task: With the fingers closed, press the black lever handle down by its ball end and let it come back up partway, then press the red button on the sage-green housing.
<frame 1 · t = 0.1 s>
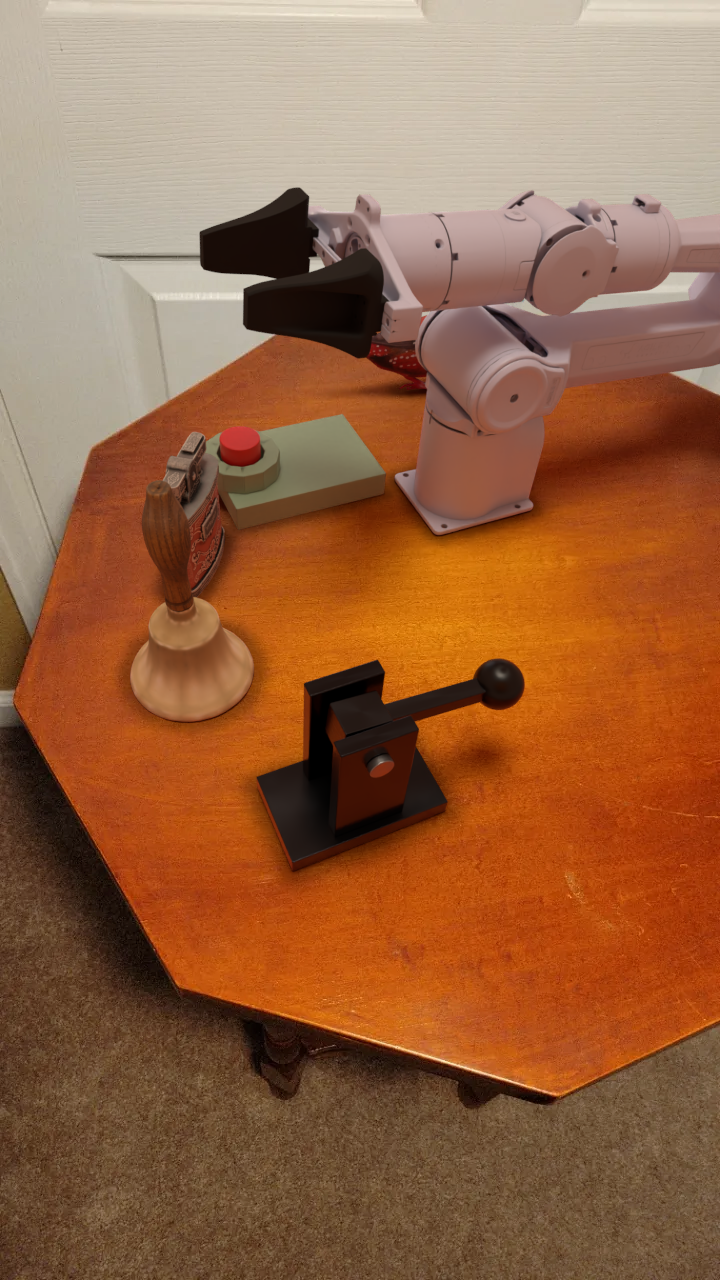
hand: (222, 278, 46), 22 cm above the table, tool horizontal, fingers open, 7 cm apart
decorative bird figurine: (402, 392, 79), on the table
hand bell: (193, 674, 55), on the table
button: (240, 446, 64), point 4 cm above the table, slide at 0.1 cm
lighter: (196, 565, 62), on the table
black lever handle: (431, 703, 45), point 8 cm above the table, hinge at -5.0°
lever base: (350, 799, 49), on the table
button box: (293, 479, 69), on the table
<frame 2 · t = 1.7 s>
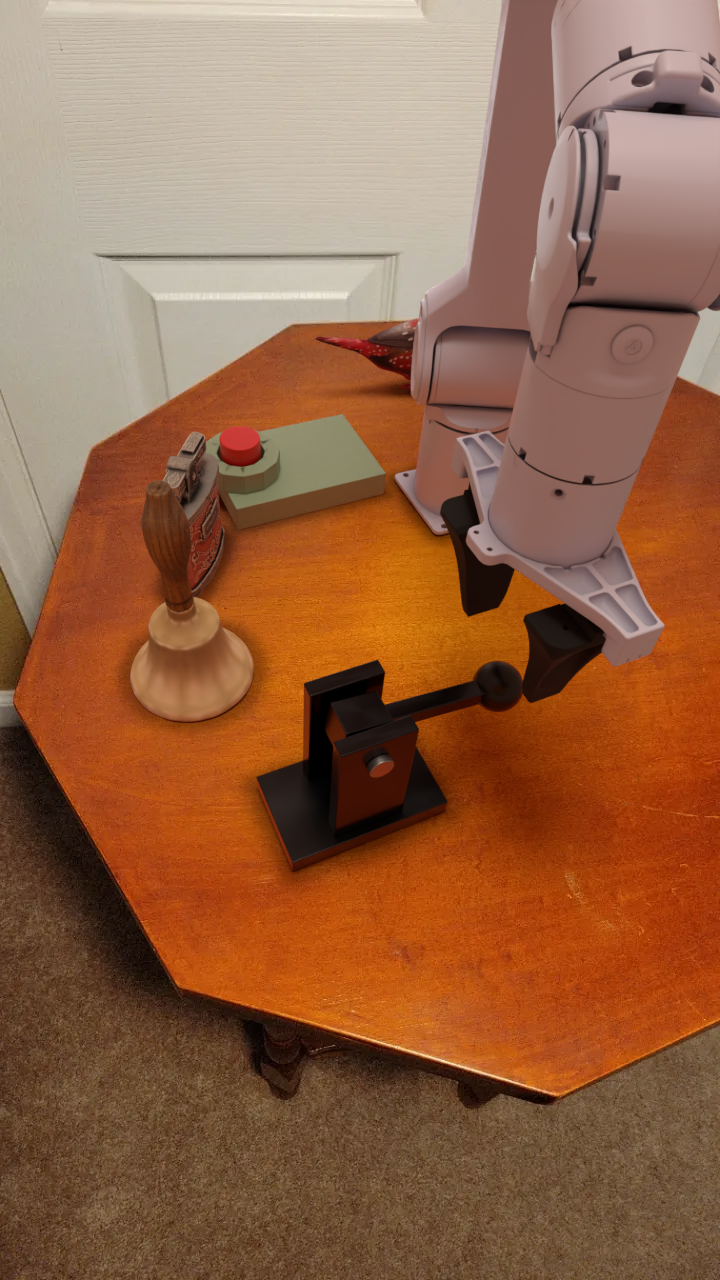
hand: (509, 648, 44), 10 cm above the table, tool pointing down, fingers open, 6 cm apart
black lever handle: (431, 704, 45), point 7 cm above the table, hinge at -6.3°
everything else where it was.
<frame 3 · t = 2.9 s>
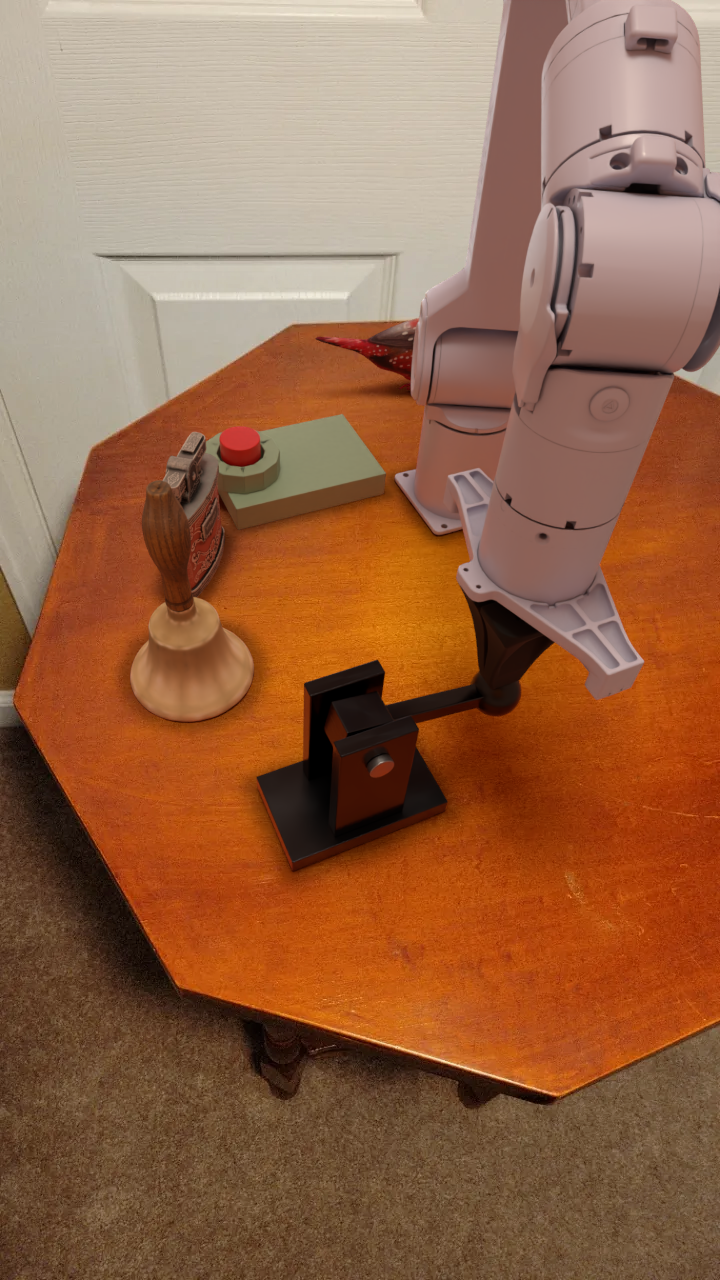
hand: (500, 675, 46), 8 cm above the table, tool pointing down, fingers closed, pressing on black lever handle
black lever handle: (430, 707, 45), point 7 cm above the table, hinge at -9.0°, touching gripper
everything else where it was.
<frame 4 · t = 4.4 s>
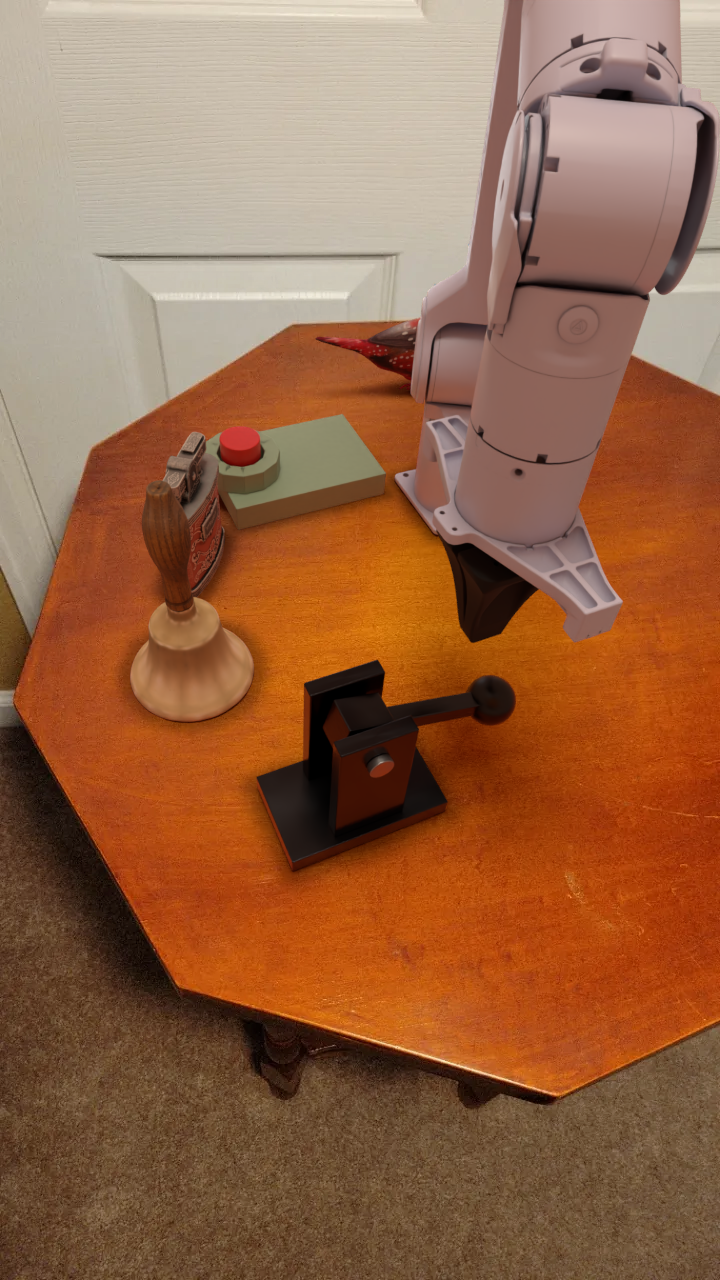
hand: (480, 629, 45), 10 cm above the table, tool pointing down, fingers closed
black lever handle: (428, 711, 45), point 7 cm above the table, hinge at -14.4°
everything else where it was.
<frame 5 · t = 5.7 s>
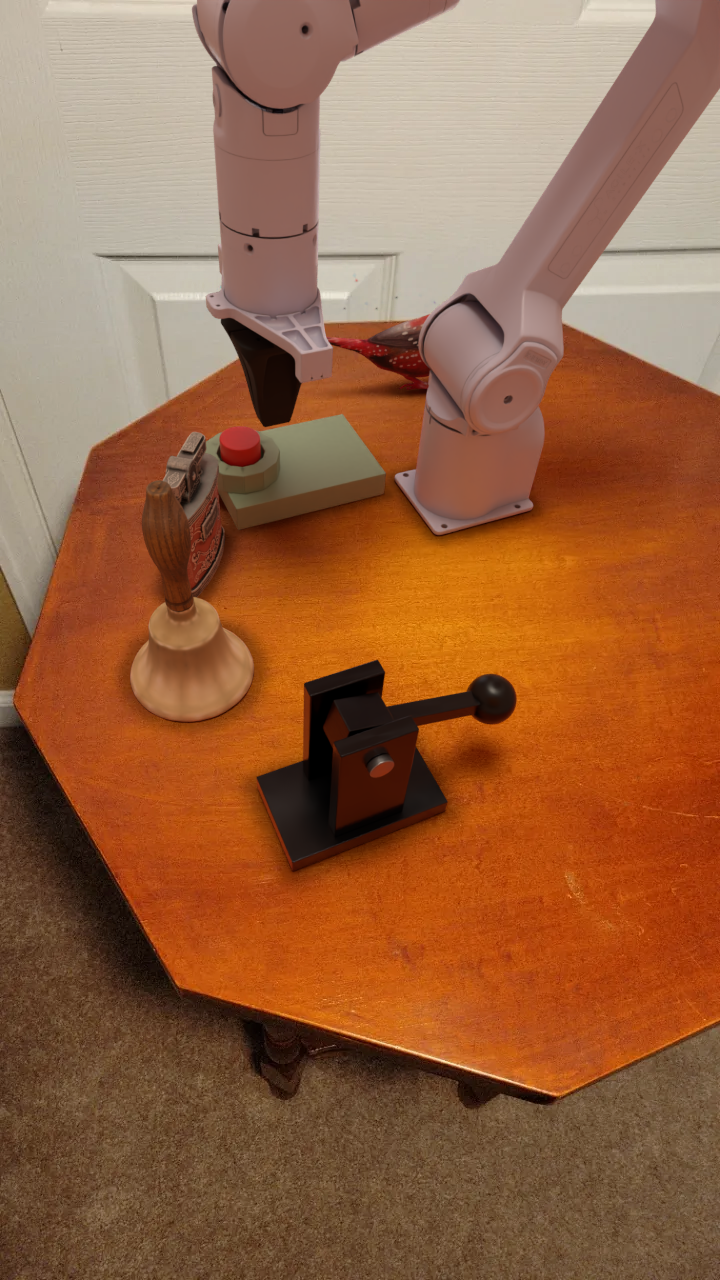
hand: (273, 419, 57), 10 cm above the table, tool pointing down, fingers closed
black lever handle: (428, 711, 45), point 7 cm above the table, hinge at -13.6°
everything else where it was.
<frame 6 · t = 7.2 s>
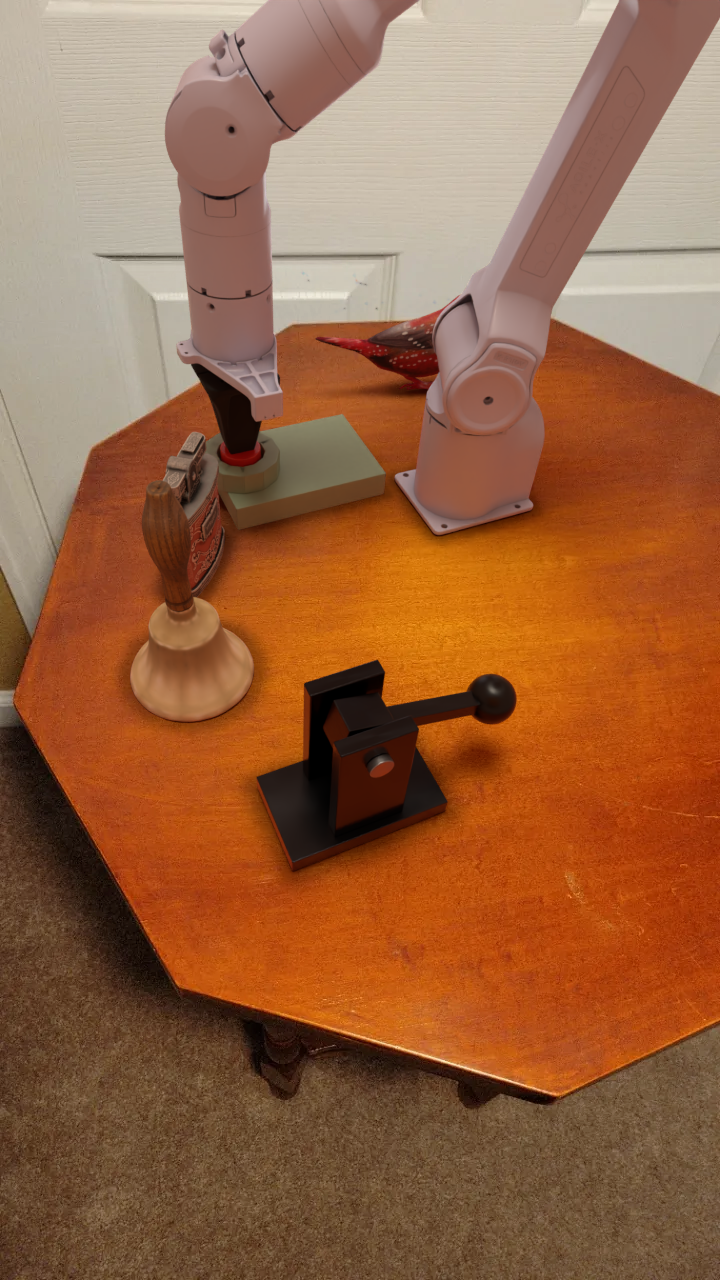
hand: (240, 447, 64), 4 cm above the table, tool pointing down, fingers closed, pressing on button
button: (241, 456, 65), point 4 cm above the table, slide at -0.8 cm, touching gripper
everything else where it was.
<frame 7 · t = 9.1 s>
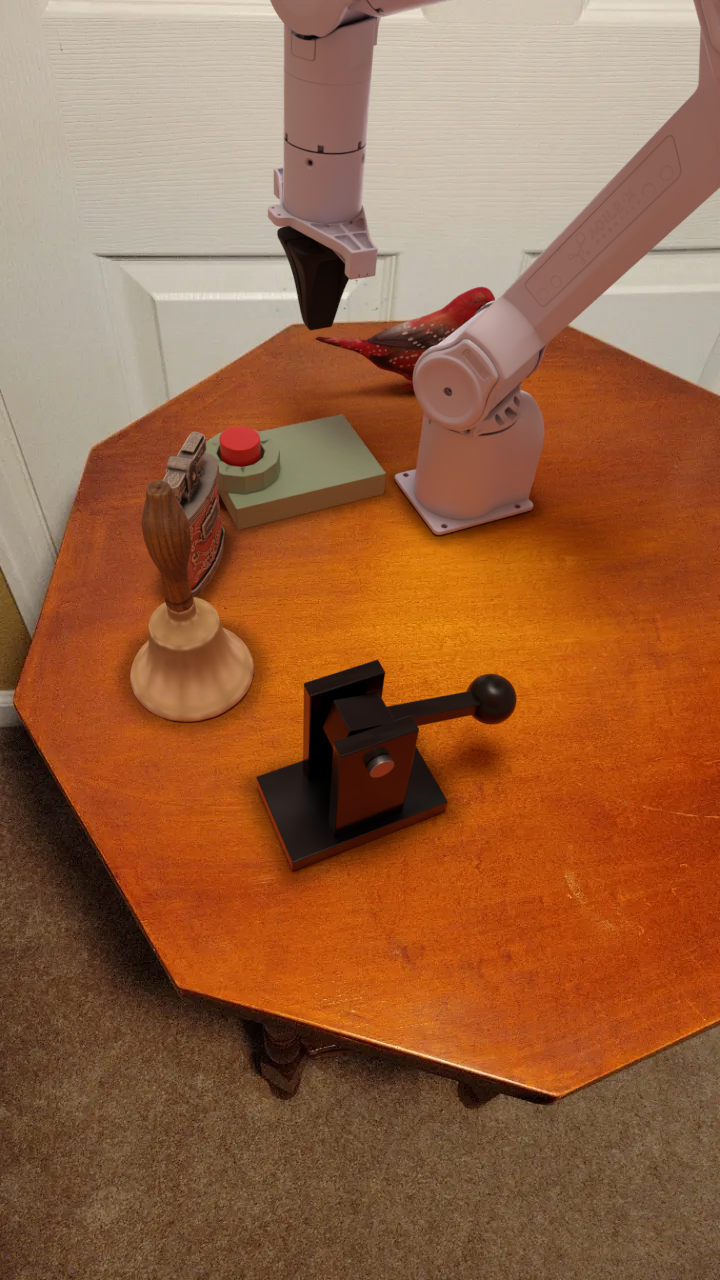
hand: (317, 324, 66), 10 cm above the table, tool pointing down, fingers closed
button: (240, 446, 64), point 4 cm above the table, slide at 0.1 cm
everything else where it was.
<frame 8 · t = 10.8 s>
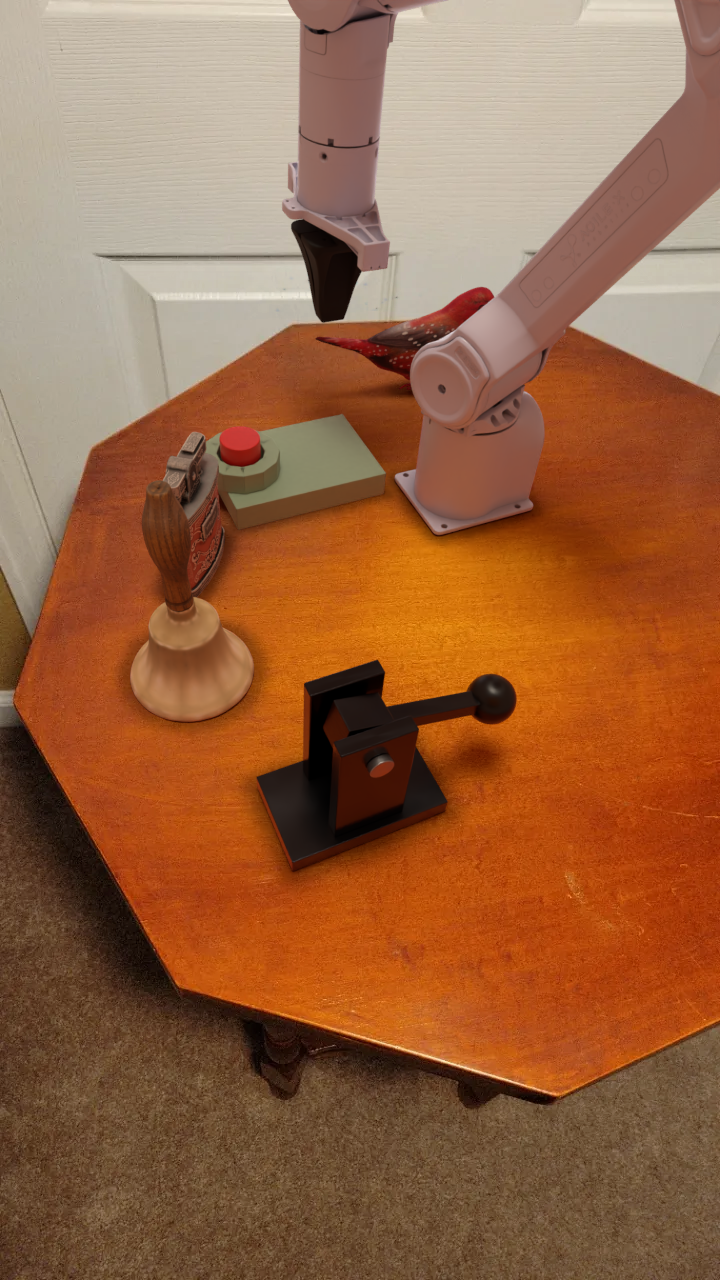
hand: (330, 317, 66), 10 cm above the table, tool pointing down, fingers closed
nothing on the table moved.
at the end: black lever handle reached -21° during the clip, -14° at the end; button pushed in 1.2 cm at the most during the clip, back to where it started at the end; button slide at 0.1 cm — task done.
